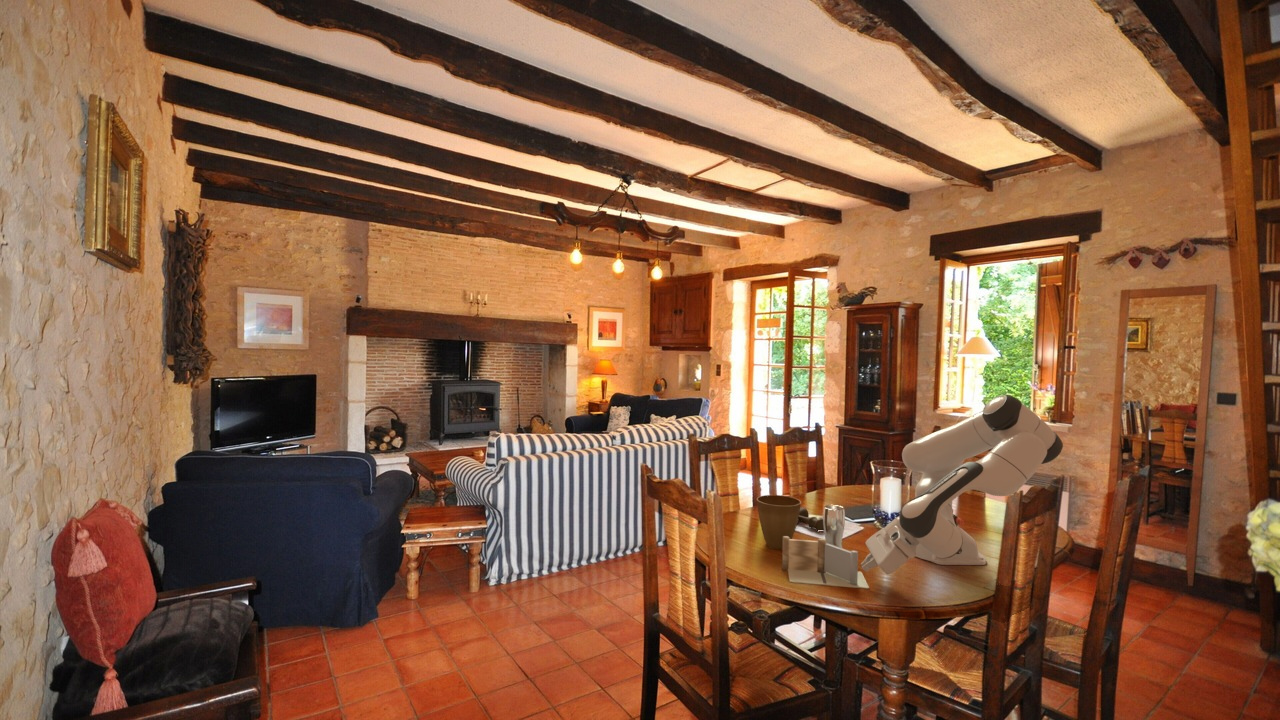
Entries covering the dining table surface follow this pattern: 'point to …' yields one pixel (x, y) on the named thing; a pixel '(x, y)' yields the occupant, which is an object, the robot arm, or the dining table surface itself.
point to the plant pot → (778, 518)
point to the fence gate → (841, 563)
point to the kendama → (810, 520)
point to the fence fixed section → (803, 554)
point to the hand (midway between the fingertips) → (862, 568)
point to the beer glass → (834, 524)
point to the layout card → (824, 579)
